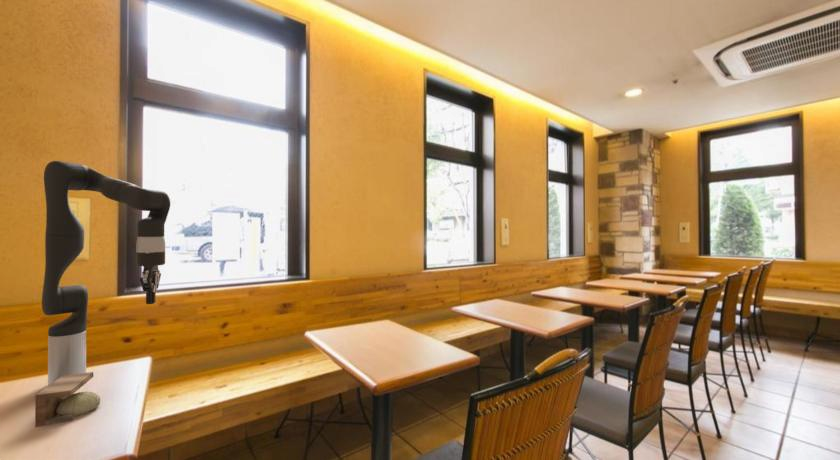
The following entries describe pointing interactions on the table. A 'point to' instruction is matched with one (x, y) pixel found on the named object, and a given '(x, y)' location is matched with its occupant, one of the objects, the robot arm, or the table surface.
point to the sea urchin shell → (78, 404)
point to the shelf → (57, 398)
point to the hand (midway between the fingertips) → (150, 303)
